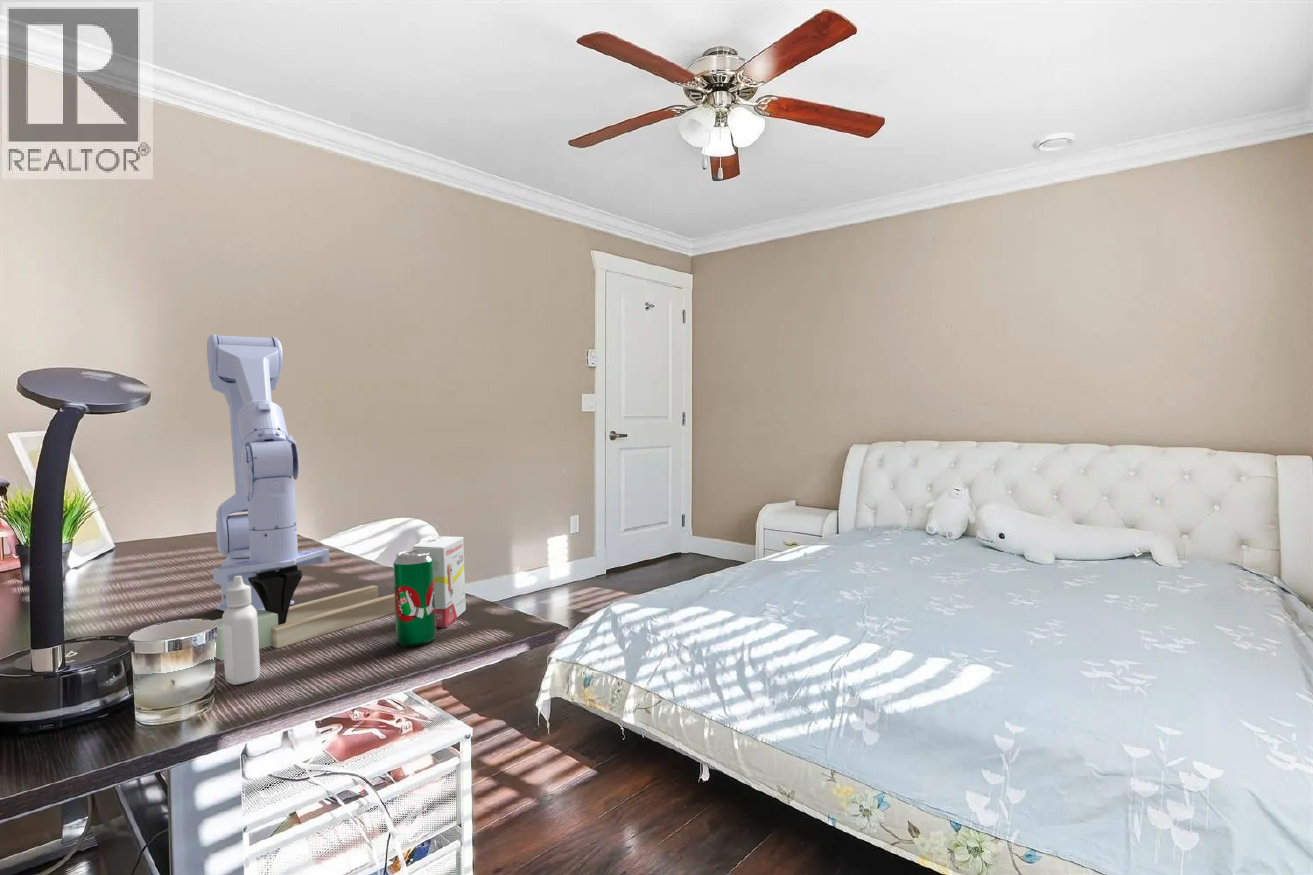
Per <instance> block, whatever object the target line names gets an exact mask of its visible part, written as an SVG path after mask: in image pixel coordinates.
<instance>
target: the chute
mask: <svg viewBox="0 0 1313 875" xmlns="http://www.w3.org/2000/svg"><path fill="white" fill-rule="evenodd" d="M392 614H395V594H394V593H392V594H388V595H385V596H381V597H380V591H379V586H378V585H373V584H372V585H368V586H365V587H361V588H360V587H359V588H357V589H353V590H349V591H345V592H341V593H338V594H333V595H329V596H326V597H322V598H318V599H313V600H309V601H306V602H302V603H298V604H295V605H294V604H293V605H290V606H289V610H288V614H287V619H286V623H285V624H281V625H278V626H276V627H273V628H271V640H272V646H271V647H273V648H275V649H280V648H284V647H287V646H290V645H293V644H296V643H302V642H304V641H307V640H310V639H313V638H317V637H320V636H323V635H324V636H325V635H326V634H330V633H332V632H336V631H339V630H343V629H346V628H349V627H353V626H356V625H358V624H362V623H366V622H369V621H371V620H377V619H378V618H381V617H385V616H388V615H392Z"/></svg>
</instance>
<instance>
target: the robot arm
mask: <svg viewBox="0 0 1313 875" xmlns="http://www.w3.org/2000/svg"><path fill="white" fill-rule="evenodd" d="M283 354H284V353H283V346H282V343H281V341H280V340H279V339H278V338H277V337H276V336H272V337H262V336H261V337H257V336H255V337H254V336H242V335H241V336H238V335H218V334H216V333H215V334H214V333H211V334H210V336H208V337H207V340H206V355H207V356H206V359H207V368H208V380H209V384H210V385H211V389H212V390H214V391H216V392H218V393H221V394H223V395H224V397H225V400H226V403H227V405H228V409H229V422H230V423H229V424H230V434H231V435H230V436H231V437H230V438H231V449H232V462H233V476H234V477H233V478H234V489H235V490H234V491H235V493H234V494H233V495H232V496H230V497H229V498H228V499H226V500H225V501H223V503H221V504H220V505H219V506H218V508H217V510H216V515H215V516H216V521H215V522H216V523H215V524H216V525H215V535H216V537H215V538H216V545H217V546H216V547H217V551H218V552H219V553H220V554H221V555H222V556H227V557H226V558H225V559H224V561H223V562H222V564H221V566H220V567H215V568H212V577H213V581H212V582H213V584H217V585H220V591H221V592H220V593H221V604H216V605H215V609H216V610H220V611H223V612H225V610H226V609H227V608H228V607H227V599H226V590H227V589H228V588H230V587H232V585H233V582H234V577H235V576H242V580H243V583H244V584H245V585H248V586H250V587H251V603H250V604H251V605H252V606H253V607H254V608H255V609H256V610H257V609H262V610H265V611H269V612H272V613H276V614H278V625H281V624H285V623H286V619H287V614H288V610H289V607H290V606H293V605H294V604H295V601H294V600H293V596H294V594H295V592H296V589H297V587H298V585H299V583H300V581H301V580H302V579H303V571H302V570H300V569H299V568H301V567H306V566H310V565H316V564H320V563H321V564H325V563H330V549H329V548H325V547H320V548H314V549H307V550H306V549H305V550H299V549H298V547H299V546H298V528H297V526H298V525H297V510H296V509H297V506H296V505H297V504H296V482H295V481H296V480H298V477H299V472H300V455H299V451H298V445H297V442H296V440H295V439H294V438H293V435H291V434H288V429H287V425H286V421H285V416H284V412H283V408H281V407H280V405H278V404H277V403H275V402H273V400H272V392H273V391H275V390H276V389H277V386H278V384H279V381H280V376H281V374H282V373H281V372H282V371H283V364H284V360H283V358H284V357H283V356H284V355H283ZM294 480H295V481H294ZM245 512H247V513H245ZM235 513H236V514H235ZM238 513H241V514H238ZM231 514H232V515H231Z"/></svg>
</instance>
